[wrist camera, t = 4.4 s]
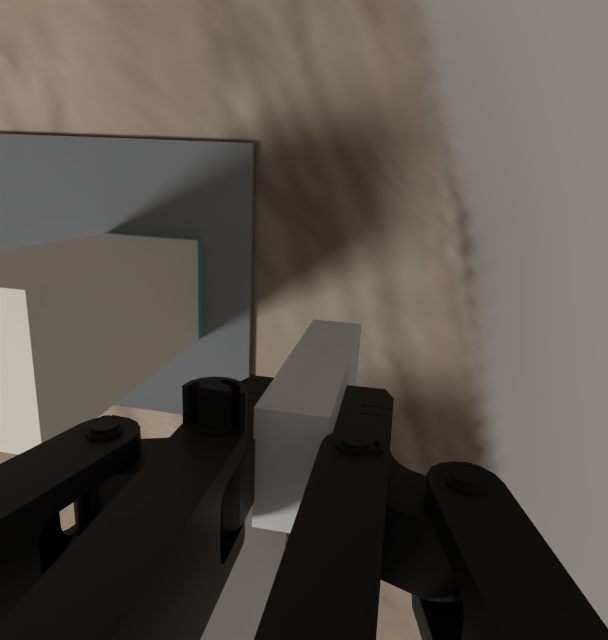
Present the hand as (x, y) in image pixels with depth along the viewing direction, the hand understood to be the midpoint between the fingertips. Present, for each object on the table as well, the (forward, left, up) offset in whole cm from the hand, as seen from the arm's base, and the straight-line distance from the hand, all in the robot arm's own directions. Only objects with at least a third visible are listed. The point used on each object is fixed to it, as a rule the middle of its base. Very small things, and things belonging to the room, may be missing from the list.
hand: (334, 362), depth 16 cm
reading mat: (-16, 0, -9) cm, 18 cm away
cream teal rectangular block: (-10, 0, -8) cm, 13 cm away
